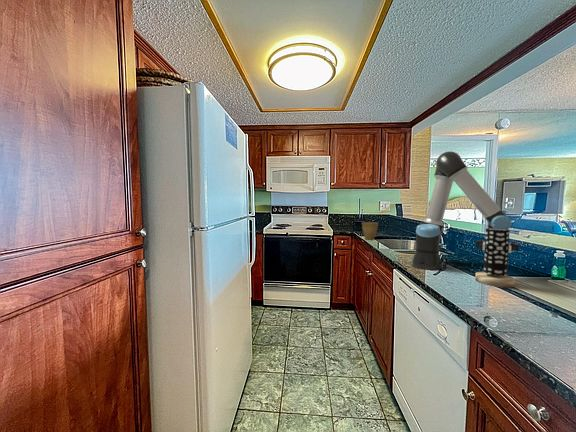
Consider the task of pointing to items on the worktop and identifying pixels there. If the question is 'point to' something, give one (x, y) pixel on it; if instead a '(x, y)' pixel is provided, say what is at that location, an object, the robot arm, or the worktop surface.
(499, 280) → the maple plinth
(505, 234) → the spotted tube
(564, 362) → the worktop surface
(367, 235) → the plant pot
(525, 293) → the worktop surface
